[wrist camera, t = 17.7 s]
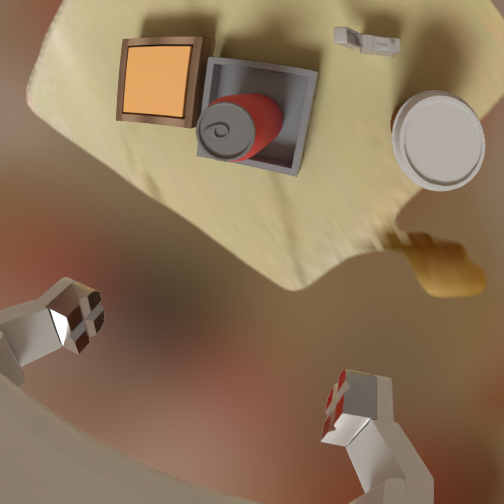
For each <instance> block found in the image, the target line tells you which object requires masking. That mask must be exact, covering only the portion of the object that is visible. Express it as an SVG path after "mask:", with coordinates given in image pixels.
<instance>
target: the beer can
mask: <svg viewBox="0 0 504 504" xmlns="http://www.w3.org/2000/svg"><path fill="white" fill-rule="evenodd" d="M282 125H283V116H282V111H281V109H280V107H279V105H278V104H277V103H276V102H275V101H274V100H273V99H272V98H270V97H268V96H266V95H263V94H257V93H254V94H238V95H229V96H224V97H220V98H219V99H217V100H215V101H213V102H212V103H211V104H210V105H209V106H208V107H207V108H206V109H205V110H204V111H203V112H202V113H201V114H200V117H199V119H198V121H197V126H196V135H197V140H198V143H199V145H200V146H201V148H202V150H203V151H204V152H205V153H206V154H207V155H208V156H210V157H212V158H214V159H215V160H219V161H224V162H236V161H244V160H246V159H248V158H250V157H253V156H254V155H255V154H256V153H258V152H259V151H260V150H261V149H263V148H264V147H265V146H266V145H268V144H269V143H270V142H272V141H273V140H274V139H275V138H276V137H277V136H278V135H279V133H280V131H281V129H282Z"/></svg>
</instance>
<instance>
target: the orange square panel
mask: <svg viewBox="0 0 504 504" xmlns="http://www.w3.org/2000/svg"><path fill="white" fill-rule="evenodd" d="M192 52H193V47H191V46H155V47H132V48H129V51H128V60H127V70H126V81H125V93H124V109H123V112H132V113H145V114H157V115H167V116H177V117H185V109H186V100H187V91H188V82H189V74H190V66H191V59H192Z"/></svg>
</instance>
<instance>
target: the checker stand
mask: <svg viewBox="0 0 504 504" xmlns="http://www.w3.org/2000/svg"><path fill="white" fill-rule="evenodd" d="M214 45H215V41H214V40H211V39H208V38H205V37H148V38H133V39H123V42H122V50H121V59H120V69H119V80H118V94H117V111H116V121H129V122H140V123H150V124H160V125H168V126H176V127H184V128H194V127H196V126H197V121H198V119H199V117H200V114H201V110H202V102H203V94H204V86H205V78H206V71H207V63H208V57H213V51H214ZM155 46H191V47H193V52H192V59H191V66H190V74H189V82H188V91H187V100H186V109H185V117H177V116H167V115H157V114H145V113H132V112H123V109H124V93H125V81H126V70H127V60H128V51H129V48H132V47H155Z"/></svg>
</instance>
